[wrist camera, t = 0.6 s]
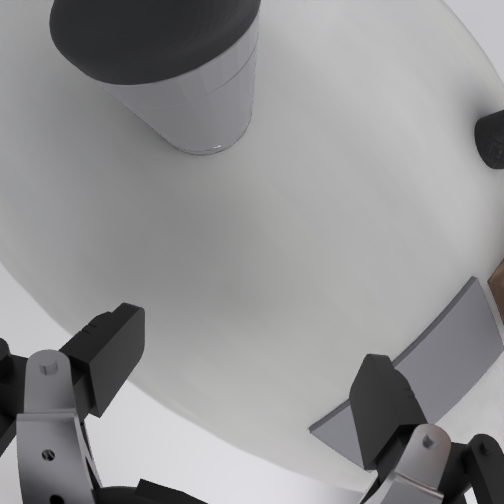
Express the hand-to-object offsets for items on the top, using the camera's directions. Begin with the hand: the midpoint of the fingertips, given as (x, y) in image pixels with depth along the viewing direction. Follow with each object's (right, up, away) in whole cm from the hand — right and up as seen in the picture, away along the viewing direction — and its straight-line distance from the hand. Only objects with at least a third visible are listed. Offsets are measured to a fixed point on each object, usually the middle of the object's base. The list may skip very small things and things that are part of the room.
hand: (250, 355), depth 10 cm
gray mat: (+23, -15, +22) cm, 35 cm away
